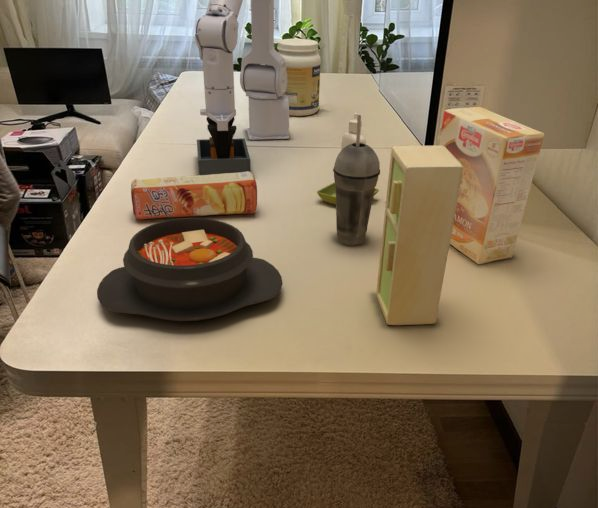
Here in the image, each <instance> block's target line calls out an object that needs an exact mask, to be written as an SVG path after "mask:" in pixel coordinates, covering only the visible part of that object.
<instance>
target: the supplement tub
mask: <svg viewBox="0 0 598 508" xmlns="http://www.w3.org/2000/svg"><path fill="white" fill-rule="evenodd" d="M276 49H277V50H278V51H277V52H278V53H279V54H280V55H281V56H282V57H283V58H284V59H285V62H286V71H287V78H288V79H287V88H286V91H285V93H284V94H283V95H282V96H287V97H288V101H289V116H292V117H304V116H305V117H306V116H310V115H313V114H316V112H318V111H319V108H320V87H321V66H322V65H321V64H322V61H321V59H322V58H321V56H320V54H319V53H318V51H319V42H318V41H316V40H313V39H307V38H284V39H279V40H277V47H276Z"/></svg>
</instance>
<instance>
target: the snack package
mask: <svg viewBox="0 0 598 508" xmlns="http://www.w3.org/2000/svg"><path fill="white" fill-rule="evenodd" d="M130 184H131V185H130V186H131V187H130V194H131V195H130V196H131V197H130V198H131V205H132V212H133V216H134V218H136V219H138V220H147V219H149V220H150V219H160V218H161V219H162V218H163V219H164V218H186V217H203V216H214V215H216V216H219V215H221V216H222V215H243V214H254V213H255V212H256V210H257V207H258V186H257V181H256V178H255V175H254V174H253V172H248V171H247V172H240V173H224V174H212V175H199V174H198V175H187V176H170V177H169V176H168V177H167V176H166V177H157V178H148V179H147V178H146V179H145V178H144V179H141V178H140V179H138V178H135V179H133V180H132V181H131V183H130Z"/></svg>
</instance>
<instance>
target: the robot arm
mask: <svg viewBox="0 0 598 508" xmlns="http://www.w3.org/2000/svg"><path fill="white" fill-rule="evenodd" d="M243 1H244V0H209V1H208V5H207V7H206V11H205V14H204V15H202V16H201V17H199V18H198V19H197V20H196V23H195V31H194V32H195V33H194V39H195V44H196V46H197V49H198V56H199V60H200V61H202V72H203V73H202V75H203V87H204V102H205V108H201V109H199V115H200V116H206V122H207V123H208V124H206V126H207V127H206V128H207V131H208V133H209V135H210V137H212V139H213V141H214V145H215V149H216V154H217V158H218V159H226V158H229V157H230V150H231V143H232V139H234V137H235V134H236V132H237V125H233V124H234V122H235V116H236V115H237V109H236V101H235V99H236V98H235V77H234V76H235V75H234V72H235V71H234V51H235V50H236V47H237V44H238V40H239V39H238V37H239V36H238V35H239V34H238V33H239V24H240V23H239V21H238V19H239V15H240V13H241V12H240V11H241V8H242V5H243ZM250 14H251V15H250V18H251V19H250V23H251V26H250V27H251V29H250V30H251V50H249V51H248V52H247V53H246V54H245V55H243V57H242V58H241V66H240V69H241V70H240V72H239V73H240V74H239V84H240V88H241V89H242V91H243V92H244V93H245V97H247V98H248V124H249V125H248V128H247V127H246V133H247V136H248V140H250V141H251V140H252V141H255V140H256V141H257V140H258V141H259V140H289V139H290V115H289V101H288V97H287V96H282V95H283V94H284V93H285V91H286V88H287V79H288V78H287V71H286V62H285V59H284V58H283V57H282V56H281V55H280V54H279V53H278V52H279V51H277V50H276V49H275V48H274V47H275V45H274V44H275V37H274V36H275V24H274V23H275V0H250Z"/></svg>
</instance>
